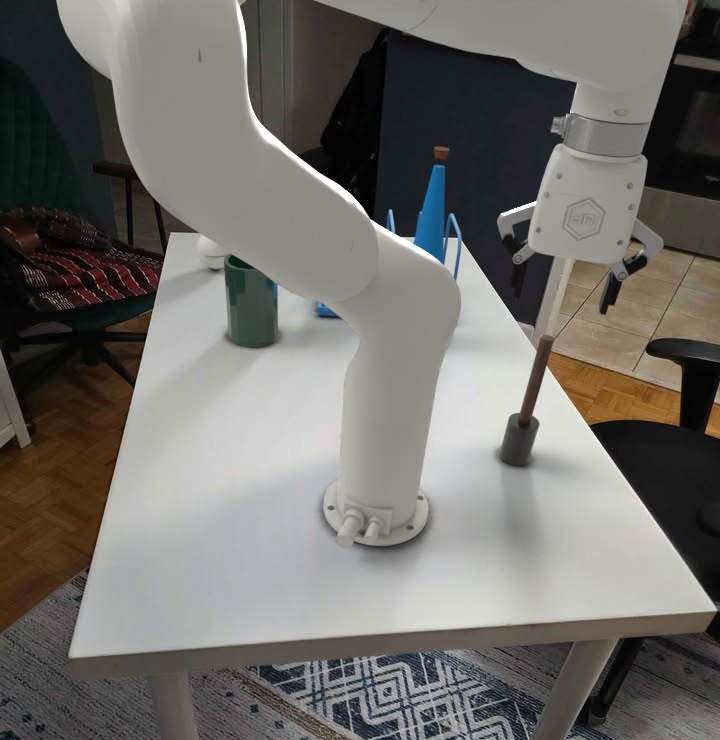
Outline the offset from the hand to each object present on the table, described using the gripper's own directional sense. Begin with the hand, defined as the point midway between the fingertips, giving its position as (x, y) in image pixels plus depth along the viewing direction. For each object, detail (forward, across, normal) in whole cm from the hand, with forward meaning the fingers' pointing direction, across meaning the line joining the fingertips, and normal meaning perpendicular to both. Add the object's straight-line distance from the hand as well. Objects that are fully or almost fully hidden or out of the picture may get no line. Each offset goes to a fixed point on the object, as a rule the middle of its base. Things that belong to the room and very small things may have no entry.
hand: (559, 302), depth 74 cm
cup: (+22, -46, +18) cm, 54 cm away
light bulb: (+22, -63, +42) cm, 79 cm away
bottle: (+23, -20, +28) cm, 41 cm away
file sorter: (+23, -29, +41) cm, 55 cm away
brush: (+22, 0, 0) cm, 22 cm away
